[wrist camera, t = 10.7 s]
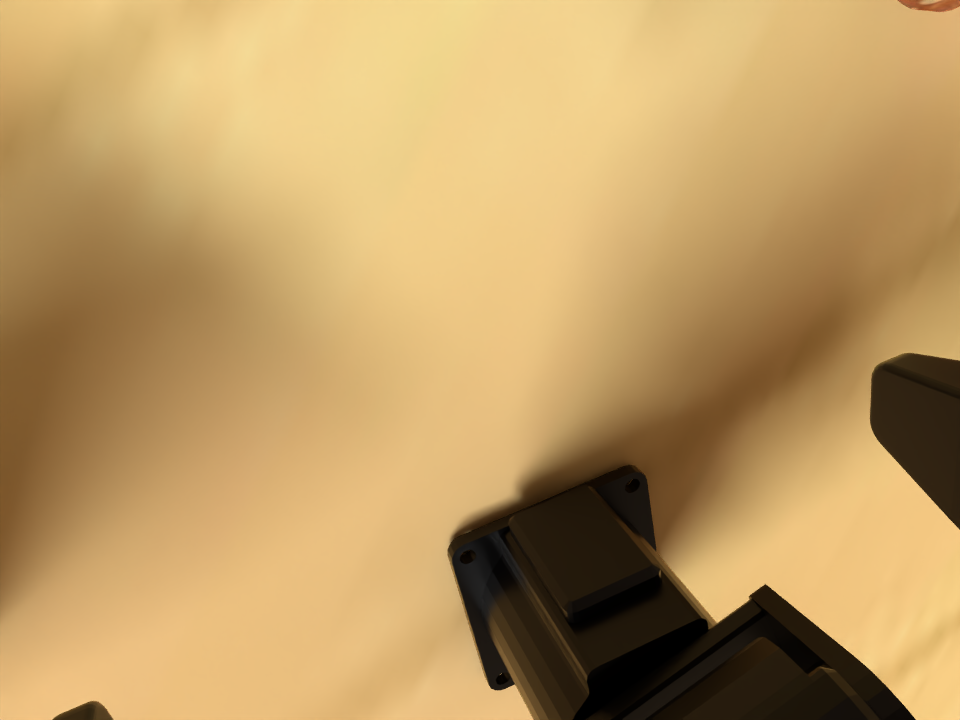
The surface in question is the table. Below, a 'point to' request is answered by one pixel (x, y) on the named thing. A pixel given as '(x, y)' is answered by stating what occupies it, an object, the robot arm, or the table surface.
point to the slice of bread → (931, 4)
